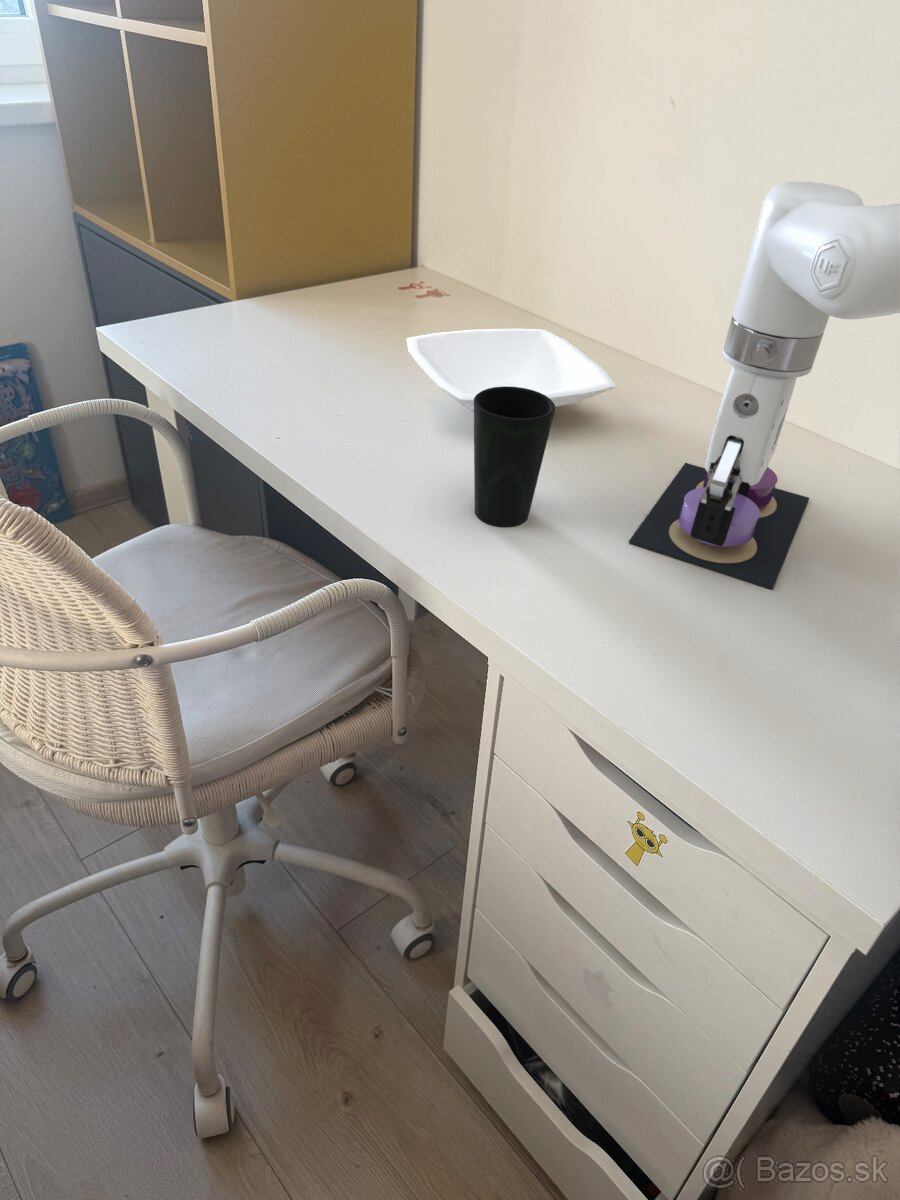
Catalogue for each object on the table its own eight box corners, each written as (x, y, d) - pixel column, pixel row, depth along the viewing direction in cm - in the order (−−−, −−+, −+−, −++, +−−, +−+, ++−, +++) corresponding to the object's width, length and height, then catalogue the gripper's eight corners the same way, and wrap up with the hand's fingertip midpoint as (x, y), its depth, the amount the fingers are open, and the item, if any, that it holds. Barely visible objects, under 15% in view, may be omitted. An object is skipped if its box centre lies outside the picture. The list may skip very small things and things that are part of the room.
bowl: (542, 364, 119) (547, 324, 116) (622, 433, 102) (631, 389, 98) (392, 375, 112) (393, 333, 109) (452, 452, 95) (455, 405, 91)
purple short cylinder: (775, 492, 91) (783, 468, 89) (761, 521, 86) (770, 495, 84) (710, 474, 93) (717, 450, 92) (693, 500, 88) (700, 475, 86)
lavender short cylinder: (758, 526, 83) (767, 500, 82) (742, 560, 78) (750, 533, 76) (688, 505, 86) (695, 480, 84) (668, 536, 81) (675, 510, 79)
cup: (541, 535, 82) (558, 422, 74) (464, 530, 81) (474, 416, 74) (536, 496, 88) (551, 388, 81) (464, 491, 88) (473, 383, 80)
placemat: (808, 500, 91) (809, 496, 91) (772, 590, 77) (774, 585, 76) (684, 465, 96) (685, 461, 96) (628, 543, 82) (629, 539, 81)
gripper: (797, 387, 63) (734, 577, 74) (831, 327, 76) (773, 496, 86) (701, 364, 66) (653, 550, 76) (749, 310, 78) (702, 476, 89)
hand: (717, 521), depth 81 cm, fingers closed on lavender short cylinder, 7 cm apart
